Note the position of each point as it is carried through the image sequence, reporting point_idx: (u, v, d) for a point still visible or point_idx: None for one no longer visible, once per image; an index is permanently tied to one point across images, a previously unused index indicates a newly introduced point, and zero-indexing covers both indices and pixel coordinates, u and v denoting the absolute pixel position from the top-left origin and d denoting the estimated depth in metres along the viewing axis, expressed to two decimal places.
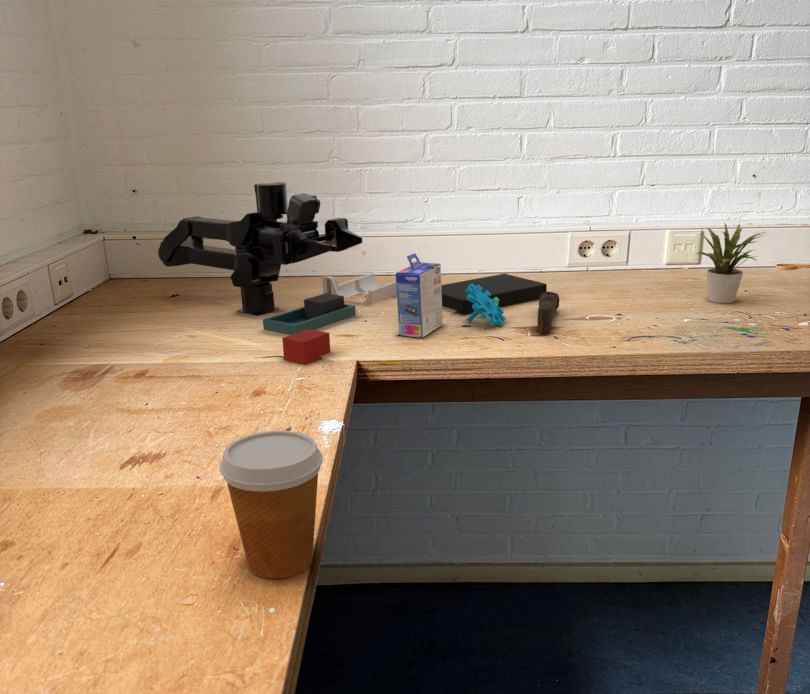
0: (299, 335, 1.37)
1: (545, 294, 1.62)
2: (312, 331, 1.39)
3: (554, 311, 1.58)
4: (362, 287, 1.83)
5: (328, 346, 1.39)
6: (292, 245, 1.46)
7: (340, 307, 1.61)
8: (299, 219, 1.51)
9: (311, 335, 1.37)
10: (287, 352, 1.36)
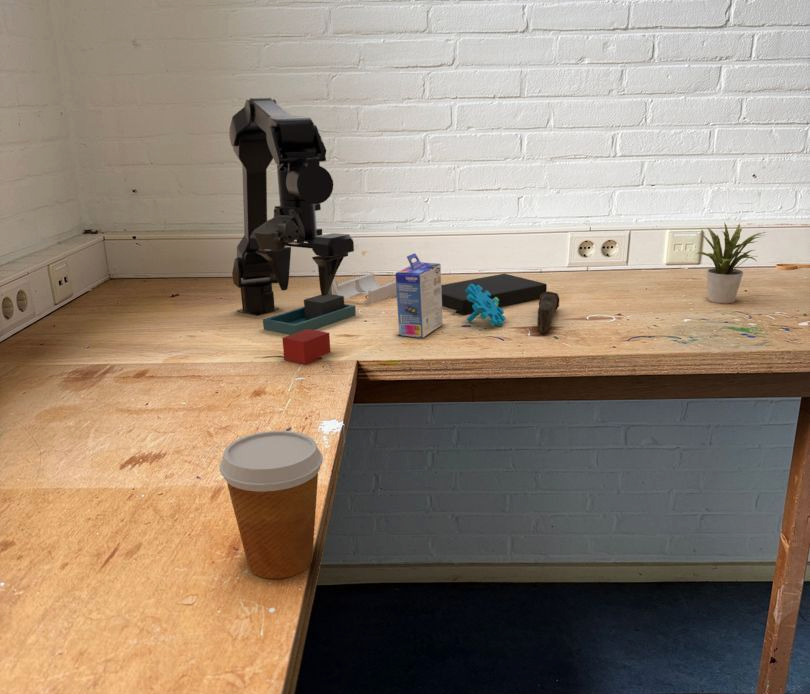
0: (299, 335, 1.37)
1: (545, 294, 1.62)
2: (312, 331, 1.39)
3: (554, 311, 1.58)
4: (362, 287, 1.83)
5: (328, 346, 1.39)
6: None
7: (340, 307, 1.61)
8: None
9: (311, 335, 1.37)
10: (287, 352, 1.36)
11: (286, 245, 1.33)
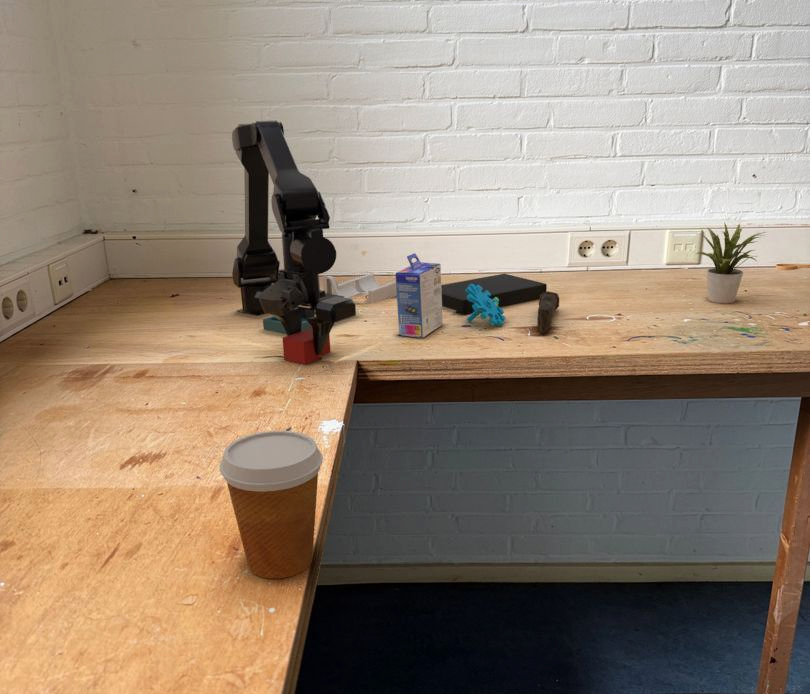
0: (299, 335, 1.37)
1: (545, 294, 1.62)
2: (312, 331, 1.39)
3: (554, 311, 1.58)
4: (362, 287, 1.83)
5: (328, 346, 1.39)
6: None
7: None
8: None
9: (311, 335, 1.37)
10: (287, 352, 1.36)
11: None
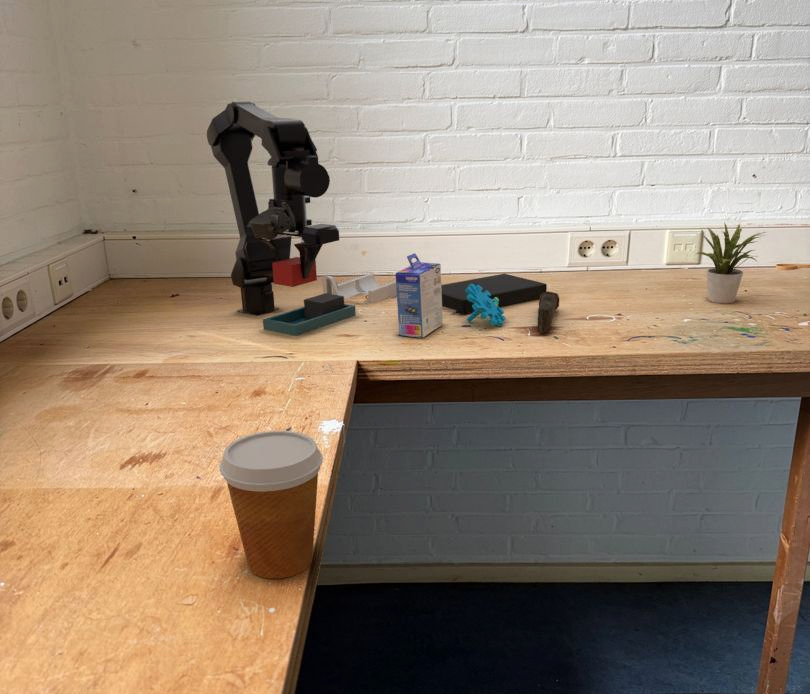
0: (288, 261, 1.49)
1: (545, 294, 1.62)
2: None
3: (554, 311, 1.58)
4: (362, 287, 1.83)
5: (314, 272, 1.51)
6: None
7: (340, 307, 1.61)
8: None
9: (298, 261, 1.49)
10: (276, 276, 1.49)
11: (279, 234, 1.49)
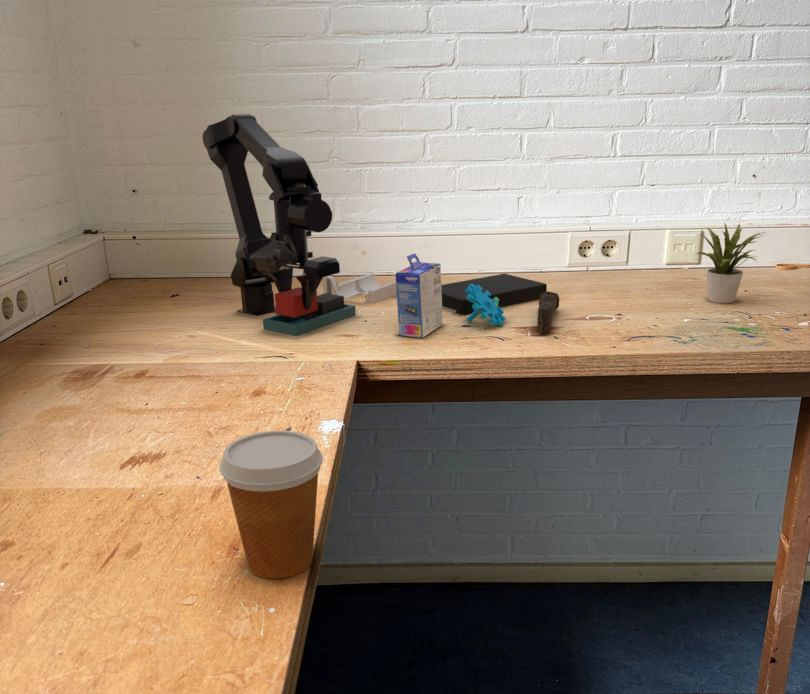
0: (289, 292, 1.53)
1: (545, 294, 1.62)
2: (301, 289, 1.55)
3: (554, 311, 1.58)
4: (362, 287, 1.83)
5: (315, 302, 1.55)
6: None
7: (340, 307, 1.61)
8: None
9: (300, 292, 1.53)
10: (279, 307, 1.53)
11: None
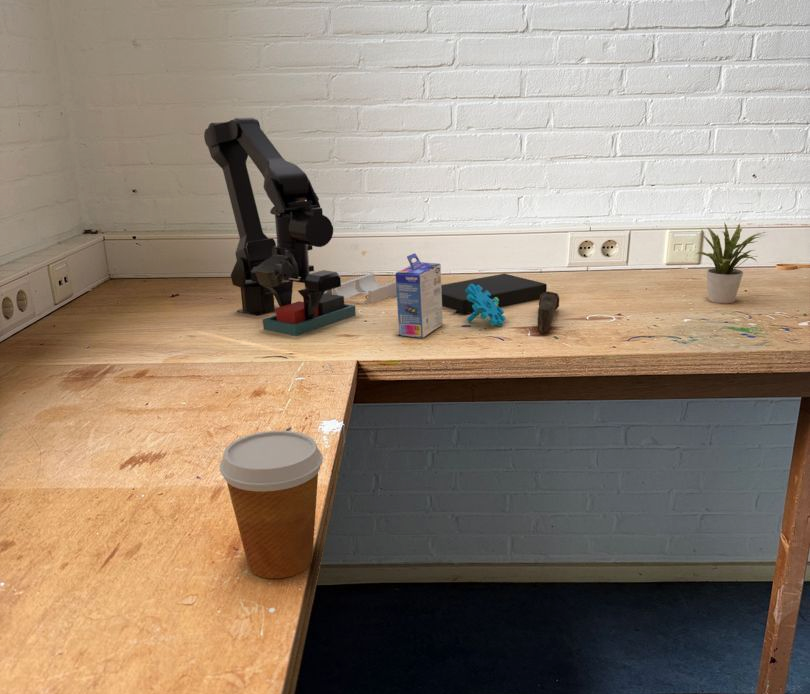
0: (291, 306, 1.54)
1: (545, 294, 1.62)
2: (302, 303, 1.56)
3: (554, 311, 1.58)
4: (362, 287, 1.83)
5: (316, 316, 1.56)
6: None
7: (340, 307, 1.61)
8: None
9: (301, 306, 1.54)
10: None
11: None
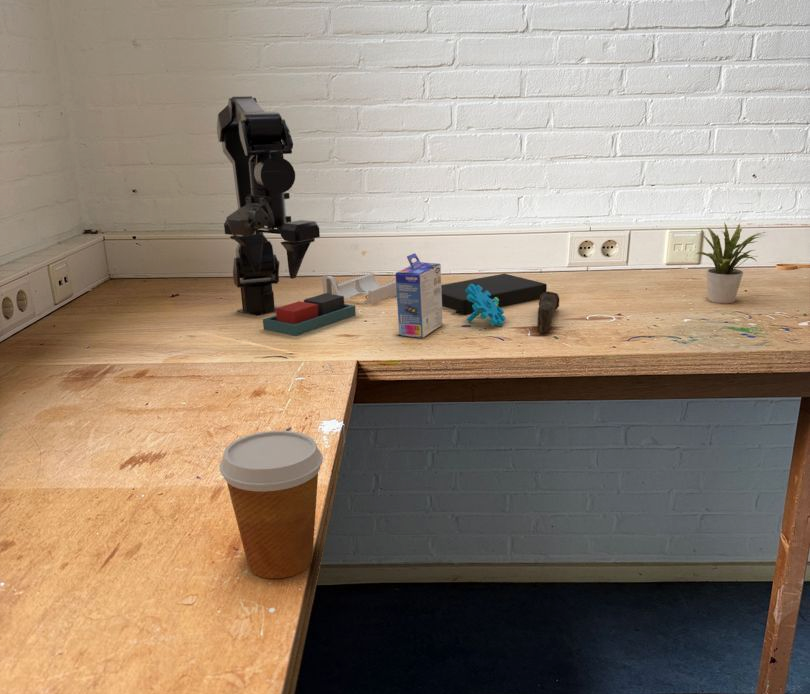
0: (291, 306, 1.54)
1: (545, 294, 1.62)
2: (302, 303, 1.56)
3: (554, 311, 1.58)
4: (362, 287, 1.83)
5: (316, 316, 1.56)
6: None
7: (340, 307, 1.61)
8: None
9: (301, 306, 1.54)
10: None
11: (258, 231, 1.44)
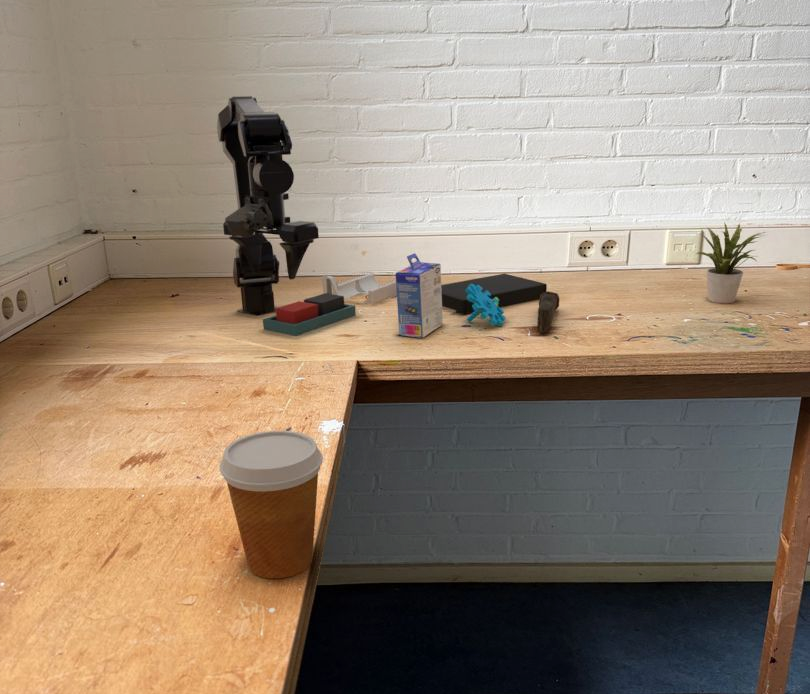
0: (291, 306, 1.54)
1: (545, 294, 1.62)
2: (302, 303, 1.56)
3: (554, 311, 1.58)
4: (362, 287, 1.83)
5: (316, 316, 1.56)
6: None
7: (340, 307, 1.61)
8: None
9: (301, 306, 1.54)
10: None
11: (257, 232, 1.44)
